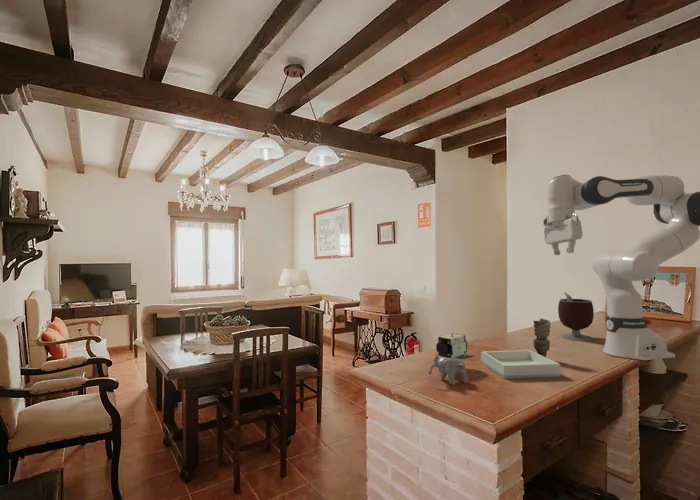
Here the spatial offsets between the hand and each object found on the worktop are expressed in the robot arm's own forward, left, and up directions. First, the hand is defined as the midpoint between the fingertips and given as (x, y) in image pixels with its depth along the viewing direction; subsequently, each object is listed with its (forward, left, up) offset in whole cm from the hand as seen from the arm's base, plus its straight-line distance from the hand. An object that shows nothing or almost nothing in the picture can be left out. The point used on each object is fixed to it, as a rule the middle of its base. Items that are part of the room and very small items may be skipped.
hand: (563, 254), depth 144 cm
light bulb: (+12, +5, -38) cm, 40 cm away
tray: (+26, +15, -38) cm, 48 cm away
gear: (+41, -4, -39) cm, 56 cm away
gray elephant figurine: (+53, +26, -39) cm, 70 cm away
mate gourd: (-23, -30, -39) cm, 54 cm away
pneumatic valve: (+47, +12, -39) cm, 61 cm away
